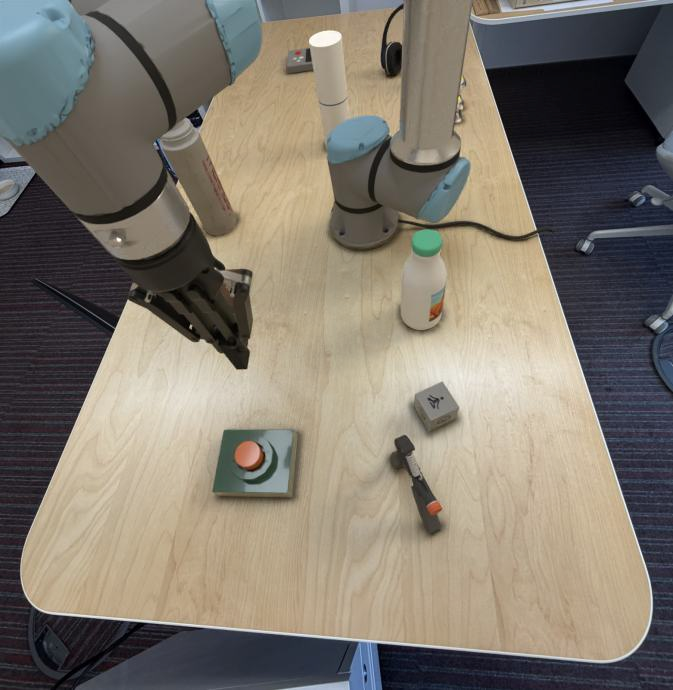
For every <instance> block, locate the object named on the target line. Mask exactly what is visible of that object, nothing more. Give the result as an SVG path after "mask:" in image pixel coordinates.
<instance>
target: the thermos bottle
mask: <svg viewBox="0 0 673 690" xmlns="http://www.w3.org/2000/svg"><path fill="white" fill-rule="evenodd" d="M159 139H160V140H159V146H160V147H161V150H162V151H163V154H164V155H165V157H166V159H167V161H168V163H169V165H170V166H171V169H172V170H173V172H174V175H175V176H176V178H177V180H178V181H179V183H180V185H181V187H182V189H183V191H184V193H185V195H186V196H187V198H188V201H189V202H190V204H191V206H192V208H193V210H194V212H195V214H196V215H197V217H198V219H199V221H200V222H201V225H202V227H203V228H204V230H205V232H206V233H207V234H209V235H210V236H215V237H216V236H222V235H225V234H228V233H229V232H231V231H232V230H233V229H234V228H235V226H236V224H237V216H236V213H235V212H234V210H233V207H232V205H231V203H230V201H229V198H228V196H227V194H226V191H225V189H224V186H223V185H222V182H221V180H220V177H219V175H218V173H217V171H216V168H215V166H214V163H213V161H212V159H211V157H210V155H209V152H208V150H207V148H206V144H205V142H204V140H203V138H202V136H201V134H200V131H199V130H198V129H197V128H196V127H194V125H193V123H192V122H191V120H190V118H187V117H186V118H184V119H183V120H182V121H180V122H179V123H178V124H176V125H175V126H174V127H173V129H171V130H169V131H168V132H167V133H165V134H164V135H163V136H162V137H160V138H159Z"/></svg>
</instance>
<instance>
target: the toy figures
mask: <svg viewBox="0 0 673 690" xmlns="http://www.w3.org/2000/svg"><path fill="white" fill-rule="evenodd" d="M465 87H467V80H466V78H465V75H464V74H462V78H461V84H460V91H459V98H458V105H457V112H456V119H455V124H460V123H461V122H462V117H463V114H462V110H463V109H464V103H465V102H464V99H463V97H462V95H461V94H462V93H463V91H464V88H465Z"/></svg>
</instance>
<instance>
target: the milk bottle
mask: <svg viewBox="0 0 673 690" xmlns="http://www.w3.org/2000/svg"><path fill="white" fill-rule="evenodd" d="M410 246H411V248H410V250H411V254H410V256H409V257H408V258H407V260H406V261H405V263H404V265H403V268H402V270H401V278H400V317H401V320H402V322H403V323H404V324H405V325H406V326H407V327H409V328H411V329H412V330H418V331H425V330H430V329H432V328H433V327H436V325H438V323H440V321H441V318H442V315H443V308H444V303H445V295H446V290H447V289H446V288H447V278H448V274H447V273H448V272H447V267H446V264H445V262H444V260H443V258H442V257H441V252H442V248H443V247H442V246H443V237H442V235H441V233H439V232H438V231H437V230H434V229H432V228H424V229H419V230H418V231H416V232H415V233H414V234H413V236H412V238H411V244H410Z"/></svg>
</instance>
